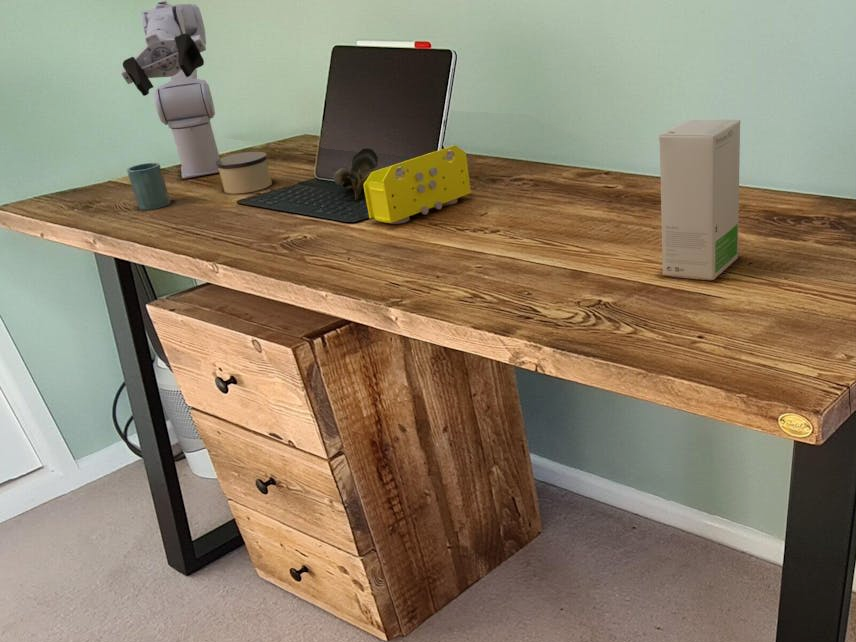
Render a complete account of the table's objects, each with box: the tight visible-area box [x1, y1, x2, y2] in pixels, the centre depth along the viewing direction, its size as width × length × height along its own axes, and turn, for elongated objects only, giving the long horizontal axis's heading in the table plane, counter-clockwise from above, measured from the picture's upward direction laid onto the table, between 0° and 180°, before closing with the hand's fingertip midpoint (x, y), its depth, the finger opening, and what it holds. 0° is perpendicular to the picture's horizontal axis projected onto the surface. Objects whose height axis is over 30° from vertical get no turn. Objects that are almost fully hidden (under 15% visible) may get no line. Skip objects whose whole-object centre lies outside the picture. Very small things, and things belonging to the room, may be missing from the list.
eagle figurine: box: [333, 147, 379, 201], centre depth 146 cm, size 8×7×9 cm
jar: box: [216, 151, 273, 195], centre depth 158 cm, size 9×9×5 cm
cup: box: [126, 162, 172, 211], centre depth 153 cm, size 5×5×6 cm
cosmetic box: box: [658, 119, 741, 281], centre depth 99 cm, size 8×7×16 cm
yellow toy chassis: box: [363, 144, 472, 225], centre depth 133 cm, size 16×6×8 cm, turn 137°
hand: (163, 80), depth 146 cm, fingers open, 7 cm apart
